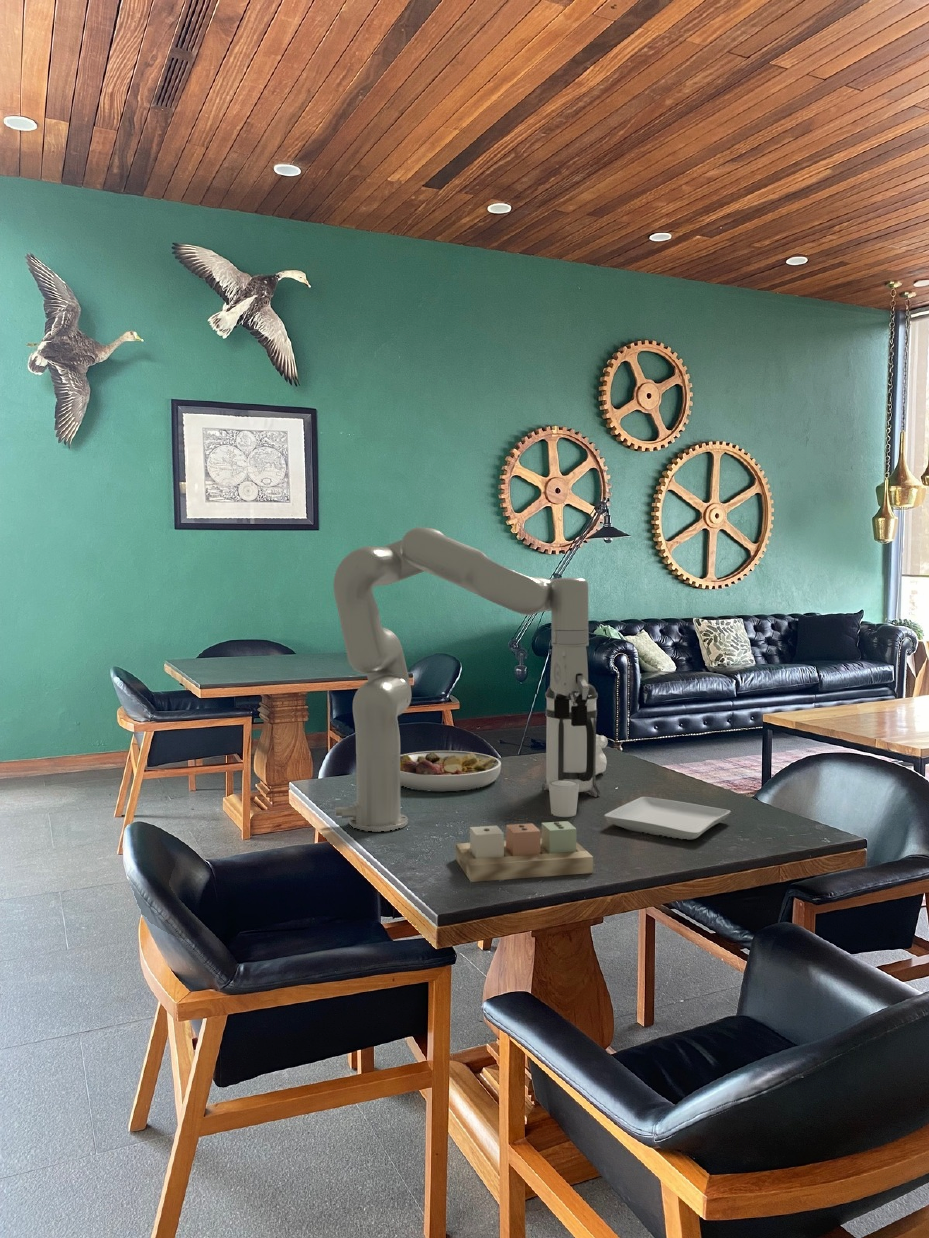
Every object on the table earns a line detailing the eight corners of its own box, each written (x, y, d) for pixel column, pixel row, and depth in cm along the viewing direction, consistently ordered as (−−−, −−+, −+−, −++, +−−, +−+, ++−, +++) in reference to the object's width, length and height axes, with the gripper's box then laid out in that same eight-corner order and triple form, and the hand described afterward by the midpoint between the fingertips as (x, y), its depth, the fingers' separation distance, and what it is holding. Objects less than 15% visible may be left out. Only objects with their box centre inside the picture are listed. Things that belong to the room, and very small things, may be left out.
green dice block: (549, 856, 173) (549, 829, 173) (541, 848, 178) (541, 821, 178) (576, 855, 174) (576, 827, 174) (567, 846, 179) (567, 820, 179)
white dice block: (476, 862, 170) (476, 834, 170) (469, 853, 175) (469, 826, 175) (503, 860, 171) (503, 832, 171) (496, 851, 176) (496, 824, 176)
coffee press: (526, 796, 227) (527, 673, 225) (557, 783, 240) (558, 667, 238) (591, 806, 217) (592, 678, 215) (620, 792, 230) (621, 671, 228)
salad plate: (732, 823, 204) (732, 808, 204) (697, 848, 187) (698, 831, 187) (642, 809, 216) (642, 794, 216) (601, 830, 199) (601, 815, 199)
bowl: (410, 765, 262) (410, 737, 262) (513, 772, 253) (514, 744, 252) (366, 790, 234) (366, 759, 233) (481, 799, 224) (481, 767, 224)
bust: (603, 785, 246) (627, 751, 247) (582, 769, 244) (607, 734, 245) (585, 775, 258) (608, 742, 259) (565, 760, 256) (588, 727, 257)
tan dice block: (513, 859, 172) (513, 831, 171) (505, 850, 177) (506, 823, 176) (540, 857, 173) (540, 829, 172) (532, 849, 178) (532, 822, 178)
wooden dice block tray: (470, 881, 166) (470, 865, 166) (455, 859, 179) (455, 843, 179) (593, 872, 171) (593, 856, 171) (570, 851, 184) (570, 836, 183)
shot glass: (577, 818, 207) (577, 787, 207) (546, 816, 208) (546, 785, 208) (580, 810, 214) (580, 780, 213) (550, 808, 215) (550, 778, 215)
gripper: (538, 635, 197) (538, 716, 198) (567, 642, 181) (568, 730, 182) (571, 634, 199) (572, 714, 200) (604, 641, 183) (604, 727, 184)
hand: (570, 721), depth 191 cm, fingers open, 9 cm apart
